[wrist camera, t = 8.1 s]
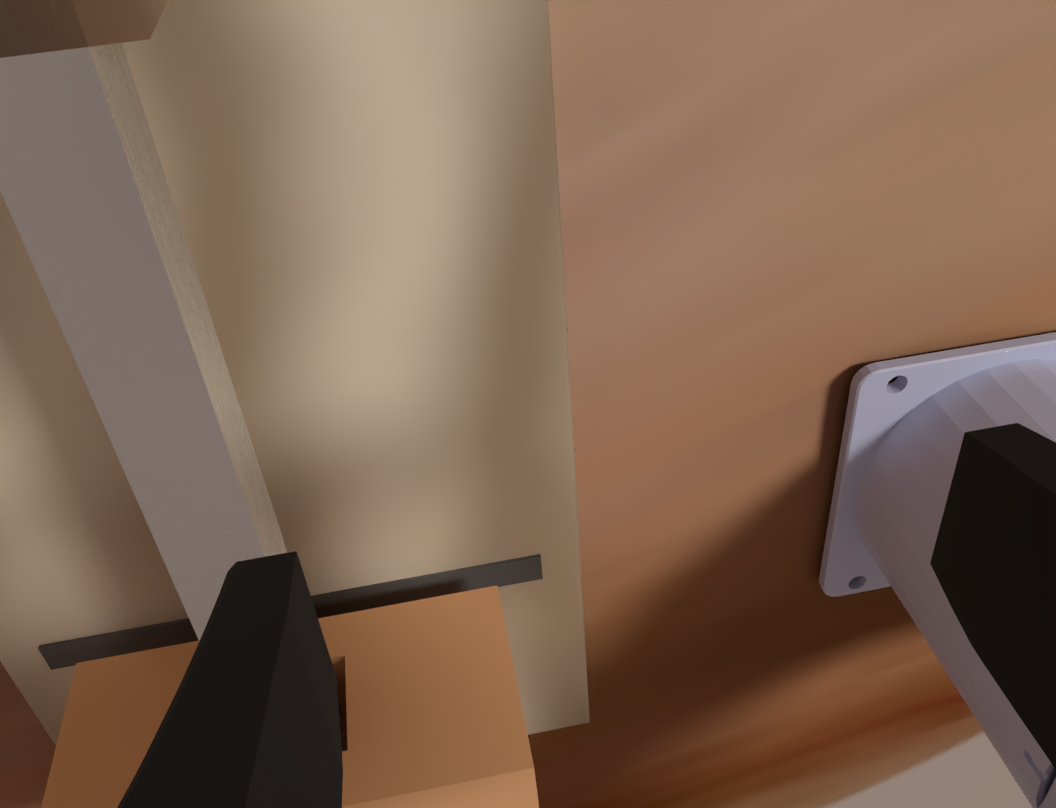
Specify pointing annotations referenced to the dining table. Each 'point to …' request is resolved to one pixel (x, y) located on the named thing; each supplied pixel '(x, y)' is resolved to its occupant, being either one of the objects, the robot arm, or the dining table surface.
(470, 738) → the collar
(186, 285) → the rod
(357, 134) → the board
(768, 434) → the dining table surface
